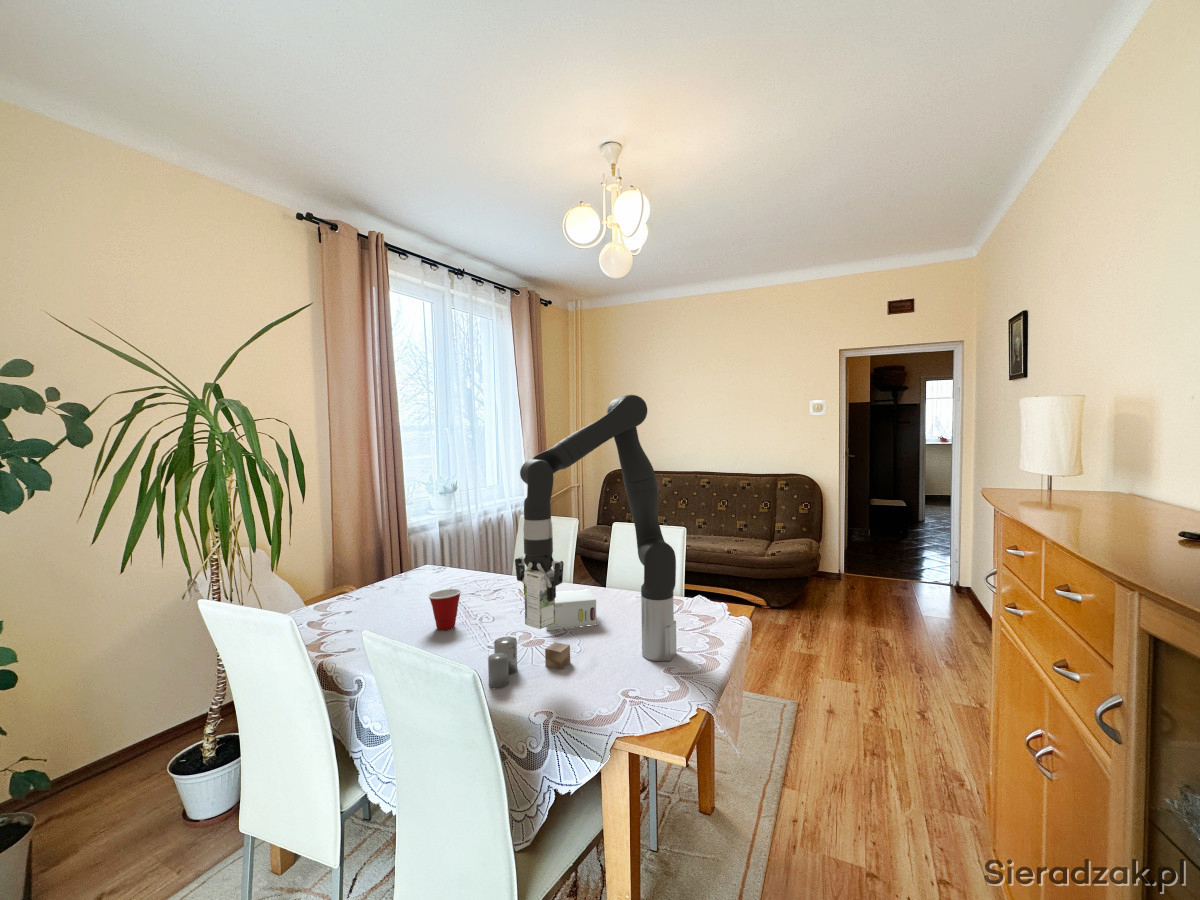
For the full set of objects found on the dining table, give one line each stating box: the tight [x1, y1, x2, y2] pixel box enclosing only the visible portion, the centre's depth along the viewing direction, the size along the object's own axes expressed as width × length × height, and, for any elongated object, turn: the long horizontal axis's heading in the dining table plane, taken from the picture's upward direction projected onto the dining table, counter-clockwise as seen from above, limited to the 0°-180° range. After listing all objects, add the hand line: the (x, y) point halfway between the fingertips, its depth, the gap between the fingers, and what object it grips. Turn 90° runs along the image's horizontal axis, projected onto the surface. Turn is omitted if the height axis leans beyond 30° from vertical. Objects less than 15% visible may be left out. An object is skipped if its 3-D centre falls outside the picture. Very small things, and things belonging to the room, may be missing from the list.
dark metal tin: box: [493, 636, 518, 676], centre depth 137 cm, size 6×6×8 cm
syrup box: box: [523, 568, 555, 630], centre depth 132 cm, size 6×6×14 cm
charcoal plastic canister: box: [487, 653, 509, 690], centre depth 129 cm, size 5×5×7 cm
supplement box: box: [545, 588, 597, 631], centre depth 172 cm, size 17×13×9 cm
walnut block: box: [544, 641, 571, 671], centre depth 140 cm, size 5×5×5 cm
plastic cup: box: [427, 588, 462, 631], centre depth 169 cm, size 11×11×12 cm
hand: (539, 598), depth 132 cm, fingers closed on syrup box, 6 cm apart
